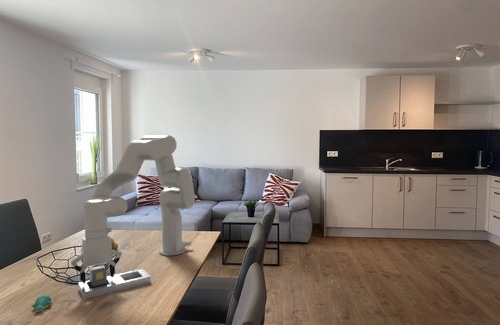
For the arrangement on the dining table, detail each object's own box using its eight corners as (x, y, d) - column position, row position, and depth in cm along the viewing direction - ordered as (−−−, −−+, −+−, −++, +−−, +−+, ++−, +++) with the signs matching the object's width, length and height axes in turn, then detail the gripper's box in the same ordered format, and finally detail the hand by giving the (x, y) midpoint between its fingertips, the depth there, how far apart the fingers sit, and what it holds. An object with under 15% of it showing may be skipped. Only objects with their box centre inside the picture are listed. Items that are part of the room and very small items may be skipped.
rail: (142, 274, 141) (142, 268, 141) (150, 282, 133) (150, 276, 133) (78, 289, 128) (78, 282, 127) (83, 299, 119) (82, 292, 119)
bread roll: (120, 248, 176) (119, 232, 176) (115, 254, 167) (115, 238, 166) (93, 249, 174) (92, 234, 174) (87, 255, 165) (86, 239, 164)
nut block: (104, 285, 131) (103, 265, 130) (107, 290, 126) (106, 269, 126) (90, 289, 128) (89, 268, 127) (92, 294, 124) (91, 272, 123)
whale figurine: (55, 302, 118) (54, 291, 118) (49, 312, 111) (48, 301, 111) (35, 304, 116) (35, 293, 116) (28, 315, 109) (27, 303, 109)
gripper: (118, 227, 134) (119, 270, 135) (68, 235, 124) (70, 281, 125) (123, 232, 127) (124, 276, 129) (71, 240, 118) (73, 288, 119)
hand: (98, 279), depth 127 cm, fingers open, 9 cm apart
